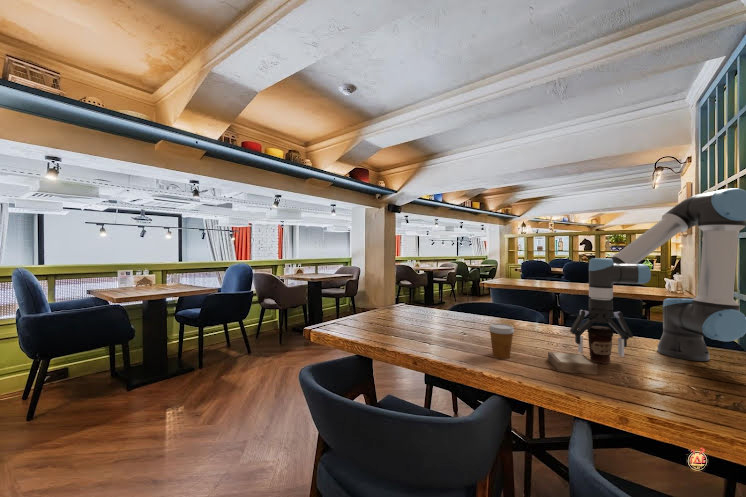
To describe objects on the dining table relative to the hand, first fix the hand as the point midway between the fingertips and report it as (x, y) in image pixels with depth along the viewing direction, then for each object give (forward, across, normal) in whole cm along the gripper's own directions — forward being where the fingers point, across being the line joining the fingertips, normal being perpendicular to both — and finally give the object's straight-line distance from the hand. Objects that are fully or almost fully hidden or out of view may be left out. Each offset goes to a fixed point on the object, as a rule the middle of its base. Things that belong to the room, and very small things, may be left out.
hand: (600, 354), depth 121 cm
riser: (+3, +13, +9) cm, 16 cm away
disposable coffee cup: (+3, +36, +3) cm, 36 cm away
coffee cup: (+3, 0, 0) cm, 3 cm away
